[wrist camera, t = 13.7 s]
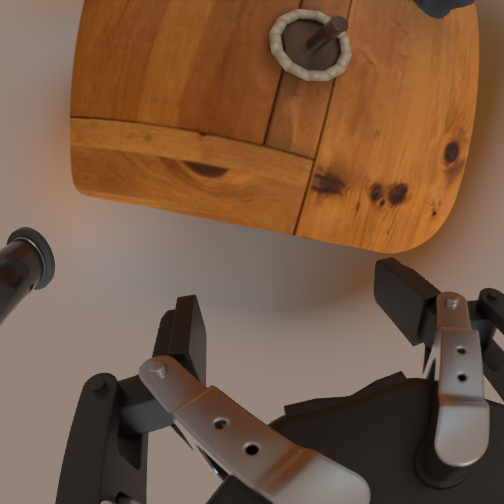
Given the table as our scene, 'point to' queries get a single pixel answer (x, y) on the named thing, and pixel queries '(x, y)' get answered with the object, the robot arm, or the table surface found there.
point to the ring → (296, 69)
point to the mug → (441, 6)
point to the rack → (313, 42)
